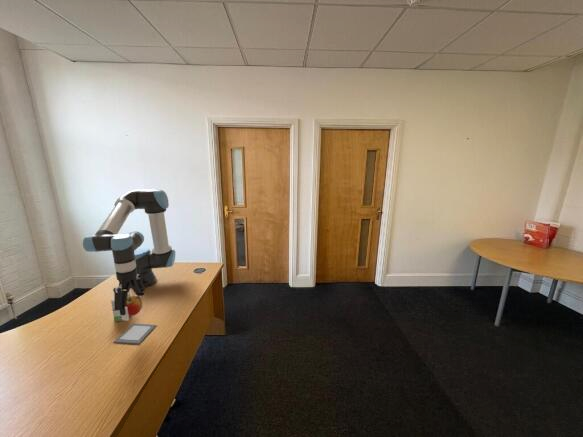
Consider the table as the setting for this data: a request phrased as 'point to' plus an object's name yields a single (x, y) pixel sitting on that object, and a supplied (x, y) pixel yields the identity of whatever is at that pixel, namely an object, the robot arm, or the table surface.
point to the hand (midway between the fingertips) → (133, 313)
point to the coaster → (135, 334)
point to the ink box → (117, 311)
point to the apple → (133, 305)
